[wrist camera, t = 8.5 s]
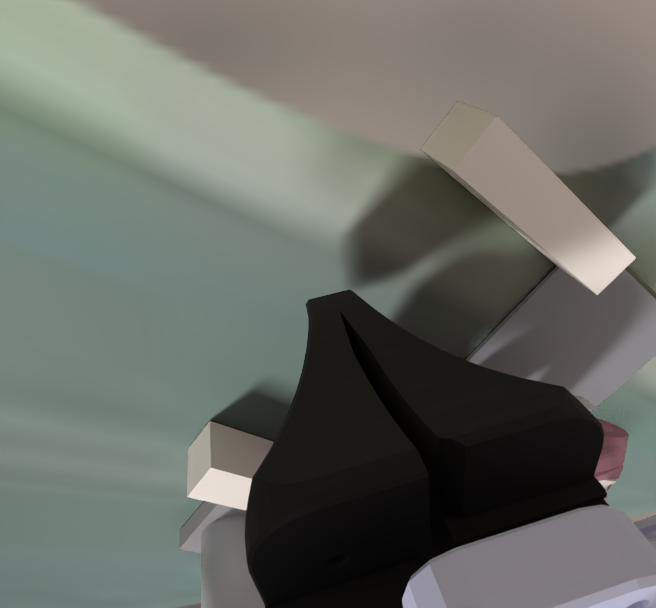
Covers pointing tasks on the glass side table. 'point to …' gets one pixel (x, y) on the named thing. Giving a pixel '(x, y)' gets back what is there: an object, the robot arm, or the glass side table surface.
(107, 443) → the glass side table surface
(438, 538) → the robot arm
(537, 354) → the mat
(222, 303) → the glass side table surface
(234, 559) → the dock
